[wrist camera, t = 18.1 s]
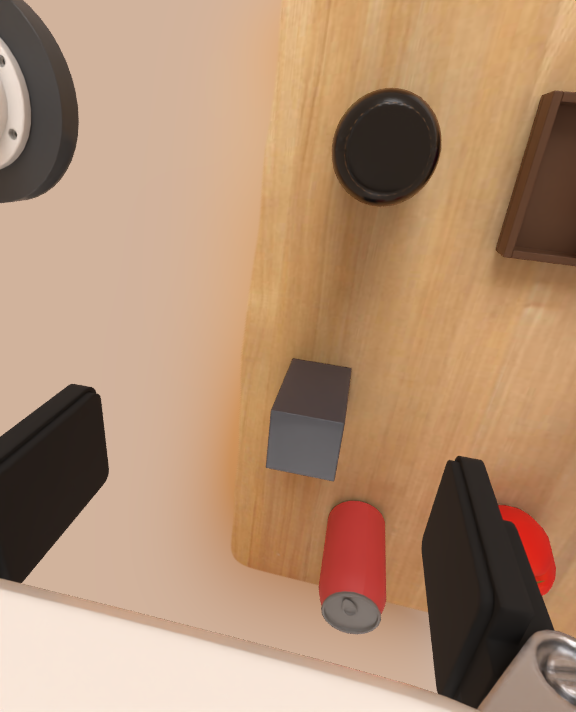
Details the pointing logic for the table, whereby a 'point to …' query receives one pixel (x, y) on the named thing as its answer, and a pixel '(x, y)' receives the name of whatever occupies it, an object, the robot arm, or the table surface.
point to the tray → (545, 188)
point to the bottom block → (309, 419)
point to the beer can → (353, 568)
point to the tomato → (533, 546)
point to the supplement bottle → (386, 147)
